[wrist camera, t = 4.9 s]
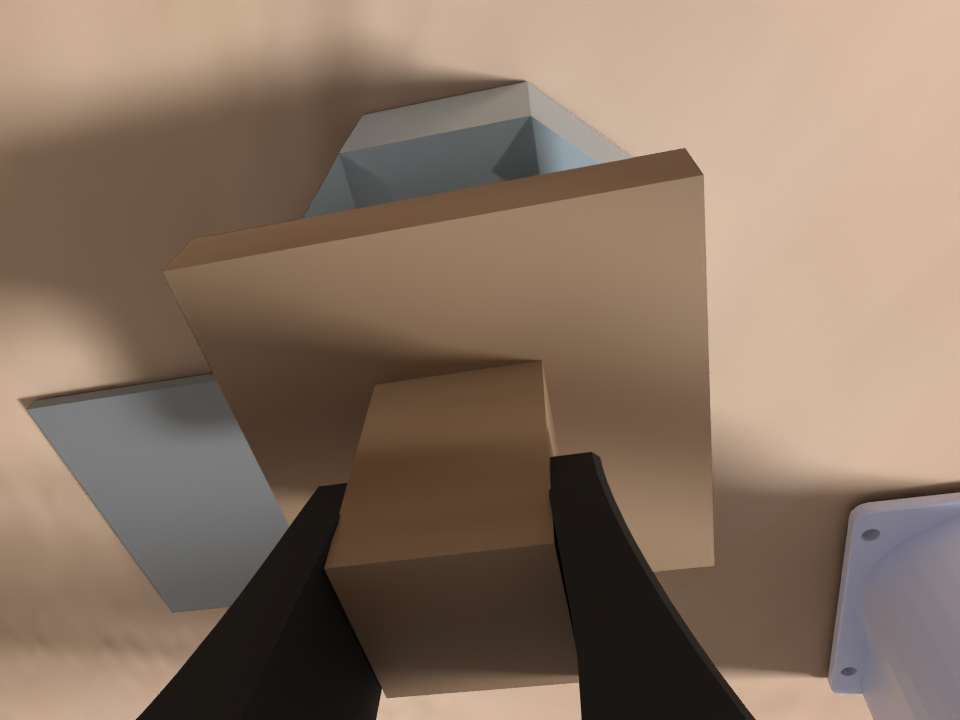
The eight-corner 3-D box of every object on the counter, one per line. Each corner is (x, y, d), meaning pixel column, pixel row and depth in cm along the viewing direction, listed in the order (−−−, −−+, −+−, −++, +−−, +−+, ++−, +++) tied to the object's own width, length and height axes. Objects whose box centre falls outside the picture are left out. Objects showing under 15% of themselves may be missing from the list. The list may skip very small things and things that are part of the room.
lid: (700, 520, 15) (775, 766, 11) (340, 560, 16) (279, 796, 12) (685, 147, 10) (801, 315, 6) (192, 239, 12) (13, 432, 7)
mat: (398, 579, 23) (396, 589, 23) (176, 602, 24) (172, 612, 24) (307, 358, 18) (303, 367, 18) (34, 400, 19) (26, 409, 19)
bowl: (672, 391, 18) (692, 455, 16) (366, 433, 20) (349, 497, 18) (650, 55, 14) (676, 86, 12) (253, 136, 15) (212, 177, 13)
